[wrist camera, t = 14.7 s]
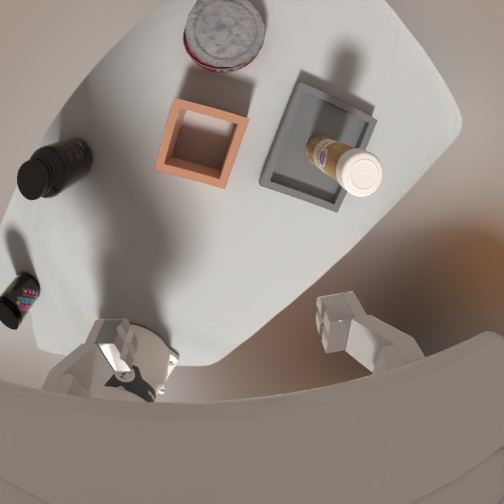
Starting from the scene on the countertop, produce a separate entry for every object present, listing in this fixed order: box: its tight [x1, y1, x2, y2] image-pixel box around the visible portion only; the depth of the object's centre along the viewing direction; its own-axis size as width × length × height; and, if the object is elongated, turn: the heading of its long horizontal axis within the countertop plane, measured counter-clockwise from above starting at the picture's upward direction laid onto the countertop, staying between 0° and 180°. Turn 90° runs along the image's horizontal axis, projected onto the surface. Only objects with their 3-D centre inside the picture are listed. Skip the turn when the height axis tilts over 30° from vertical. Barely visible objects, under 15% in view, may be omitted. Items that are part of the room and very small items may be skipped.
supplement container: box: [0, 272, 40, 330], centre depth 38 cm, size 7×7×10 cm
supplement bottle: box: [17, 138, 92, 200], centre depth 28 cm, size 7×7×12 cm
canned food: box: [183, 0, 265, 73], centre depth 25 cm, size 11×10×10 cm
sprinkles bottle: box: [306, 136, 383, 197], centre depth 30 cm, size 5×5×13 cm
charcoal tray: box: [259, 82, 377, 212], centre depth 35 cm, size 15×12×2 cm
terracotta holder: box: [154, 98, 249, 189], centre depth 32 cm, size 9×9×5 cm
